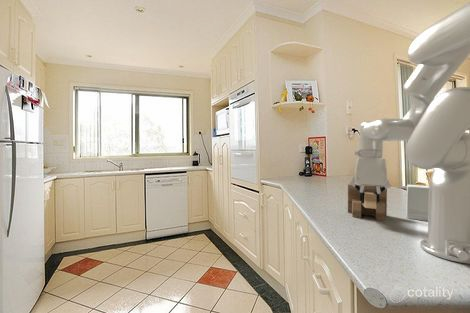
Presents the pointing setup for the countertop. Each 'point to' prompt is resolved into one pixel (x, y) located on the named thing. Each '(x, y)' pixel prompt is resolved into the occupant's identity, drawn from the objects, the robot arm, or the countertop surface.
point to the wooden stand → (358, 208)
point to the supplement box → (417, 202)
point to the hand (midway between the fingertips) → (369, 202)
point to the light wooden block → (369, 200)
